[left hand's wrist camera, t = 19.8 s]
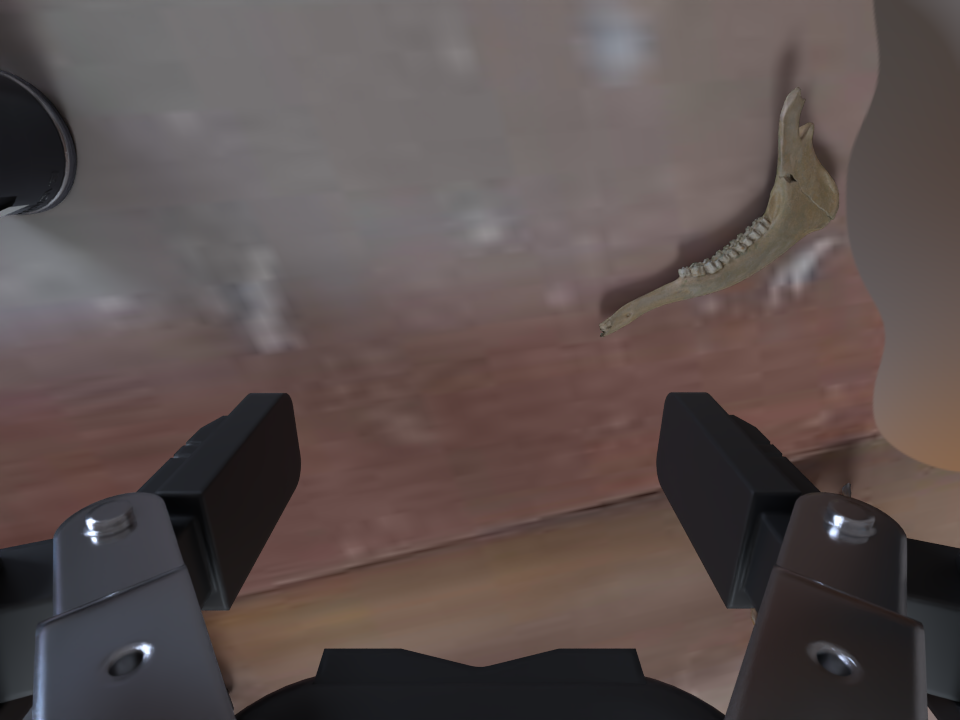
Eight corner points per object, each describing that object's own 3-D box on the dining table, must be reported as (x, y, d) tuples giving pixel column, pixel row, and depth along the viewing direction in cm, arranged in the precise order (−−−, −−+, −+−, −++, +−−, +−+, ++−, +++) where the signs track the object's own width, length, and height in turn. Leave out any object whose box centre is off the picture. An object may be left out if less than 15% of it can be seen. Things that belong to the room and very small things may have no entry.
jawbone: (865, 165, 37) (887, 168, 35) (673, 381, 44) (684, 393, 42) (781, 87, 35) (800, 85, 33) (591, 328, 41) (598, 338, 40)
